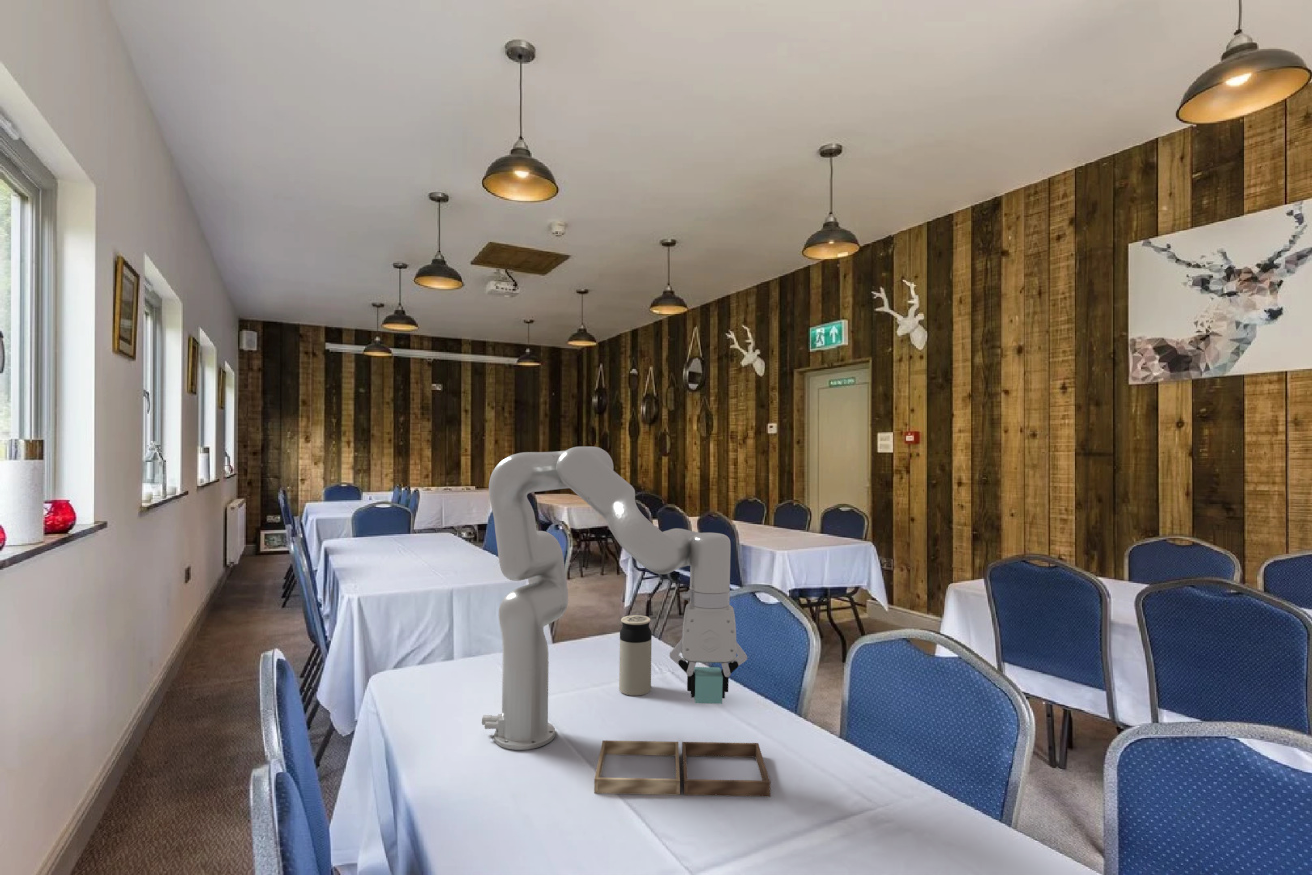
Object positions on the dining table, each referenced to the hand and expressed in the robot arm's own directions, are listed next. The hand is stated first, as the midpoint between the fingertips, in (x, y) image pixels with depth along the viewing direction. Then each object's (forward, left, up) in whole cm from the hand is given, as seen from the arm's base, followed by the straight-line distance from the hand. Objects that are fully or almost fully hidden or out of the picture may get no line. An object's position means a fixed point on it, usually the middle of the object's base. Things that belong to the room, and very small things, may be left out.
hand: (707, 694), depth 125 cm
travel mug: (-15, +41, -15) cm, 46 cm away
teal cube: (0, 0, -1) cm, 1 cm away
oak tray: (-13, 0, -15) cm, 20 cm away
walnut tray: (+3, 0, -15) cm, 15 cm away
